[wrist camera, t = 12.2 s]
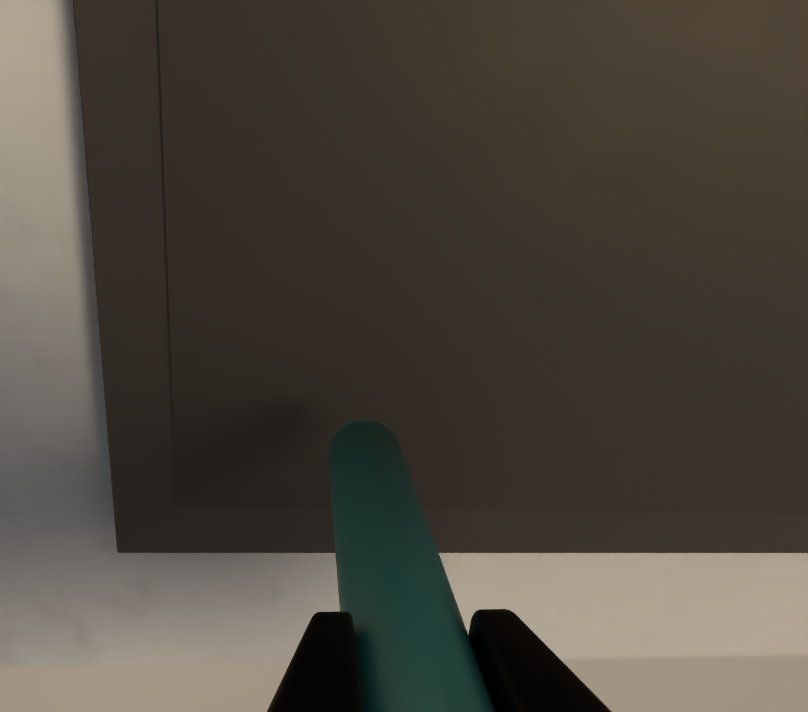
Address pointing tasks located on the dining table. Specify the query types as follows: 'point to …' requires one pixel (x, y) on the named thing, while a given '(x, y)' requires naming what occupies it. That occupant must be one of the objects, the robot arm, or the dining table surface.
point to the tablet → (453, 267)
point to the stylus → (396, 583)
